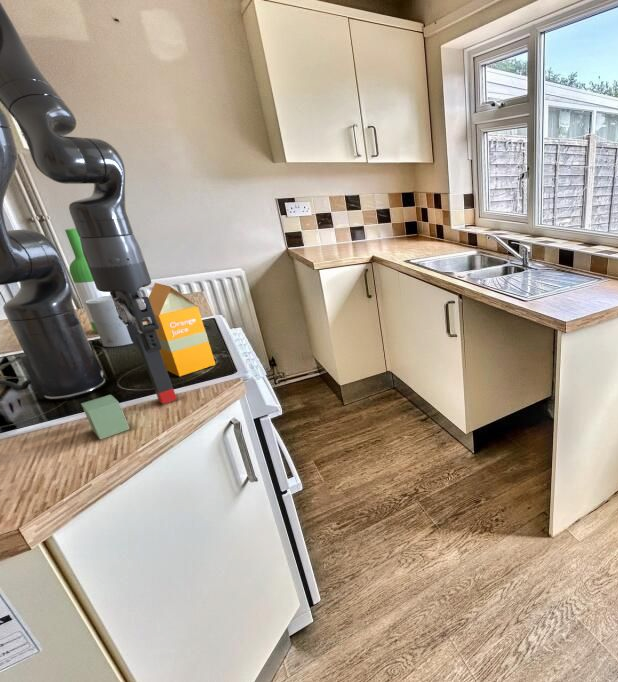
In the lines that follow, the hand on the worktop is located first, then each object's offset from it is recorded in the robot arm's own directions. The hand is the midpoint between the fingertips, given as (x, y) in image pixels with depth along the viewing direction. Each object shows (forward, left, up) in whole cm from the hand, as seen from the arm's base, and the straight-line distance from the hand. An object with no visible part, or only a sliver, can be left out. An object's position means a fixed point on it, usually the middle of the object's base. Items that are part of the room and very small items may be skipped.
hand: (147, 346), depth 80 cm
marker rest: (-4, -10, -12) cm, 16 cm away
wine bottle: (-43, +57, -12) cm, 72 cm away
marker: (0, 0, -5) cm, 5 cm away
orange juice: (-4, +18, -12) cm, 22 cm away
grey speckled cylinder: (-32, +44, -12) cm, 56 cm away
